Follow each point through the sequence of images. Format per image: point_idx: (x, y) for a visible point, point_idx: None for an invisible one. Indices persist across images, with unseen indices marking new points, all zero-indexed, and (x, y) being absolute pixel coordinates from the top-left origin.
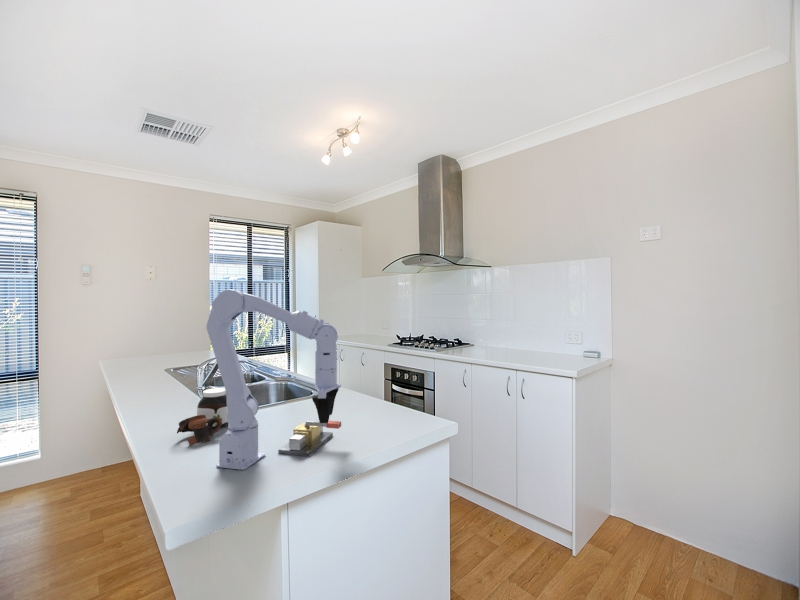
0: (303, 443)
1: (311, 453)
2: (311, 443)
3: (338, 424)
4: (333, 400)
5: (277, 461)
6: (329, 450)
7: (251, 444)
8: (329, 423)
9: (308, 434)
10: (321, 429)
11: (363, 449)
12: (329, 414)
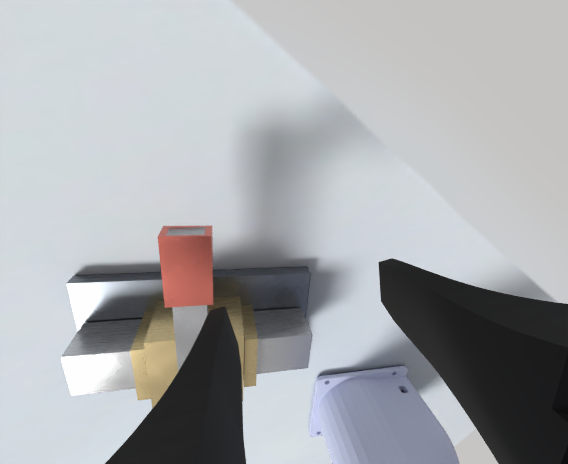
0: (274, 319)
1: (290, 268)
2: (240, 301)
3: (209, 235)
4: (214, 386)
5: (349, 329)
6: (240, 223)
7: (394, 420)
8: (212, 287)
9: (249, 333)
10: (93, 333)
11: (191, 74)
12: (430, 275)
